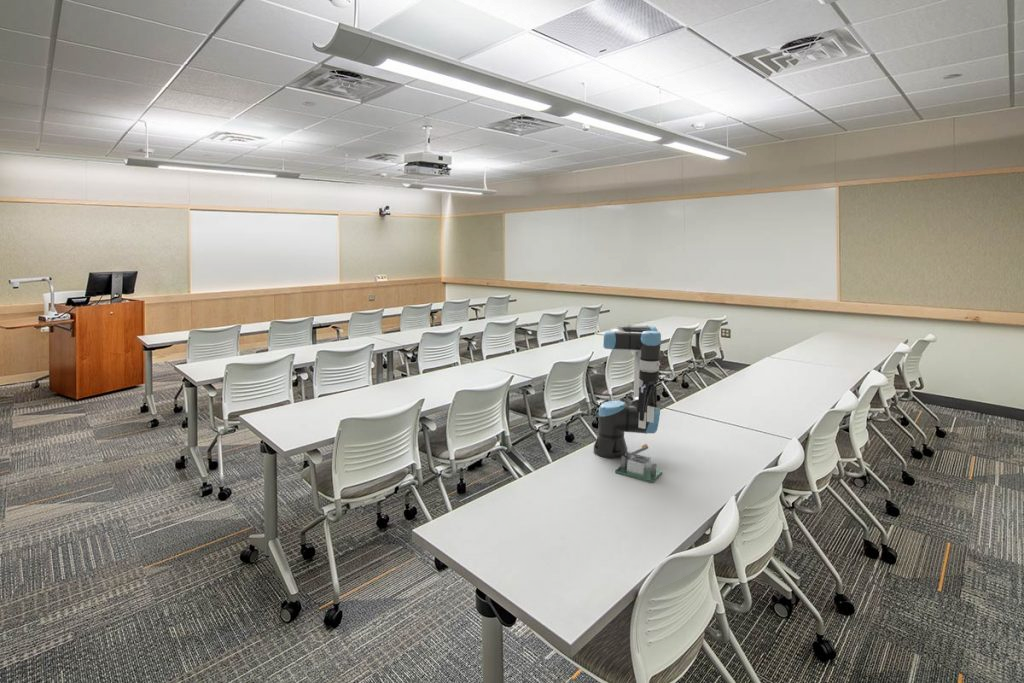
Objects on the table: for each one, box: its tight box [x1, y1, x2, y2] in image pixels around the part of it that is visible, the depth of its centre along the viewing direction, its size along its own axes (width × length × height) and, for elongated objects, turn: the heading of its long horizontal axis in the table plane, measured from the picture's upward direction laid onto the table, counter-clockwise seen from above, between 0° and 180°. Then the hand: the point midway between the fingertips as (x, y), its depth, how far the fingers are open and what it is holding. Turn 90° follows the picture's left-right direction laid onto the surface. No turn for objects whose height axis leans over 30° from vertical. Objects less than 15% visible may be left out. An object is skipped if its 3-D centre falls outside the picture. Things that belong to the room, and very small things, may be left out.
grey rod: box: [625, 443, 650, 458], centre depth 214 cm, size 12×2×2 cm
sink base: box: [614, 452, 663, 484], centre depth 214 cm, size 16×11×6 cm
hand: (646, 424), depth 210 cm, fingers open, 8 cm apart
